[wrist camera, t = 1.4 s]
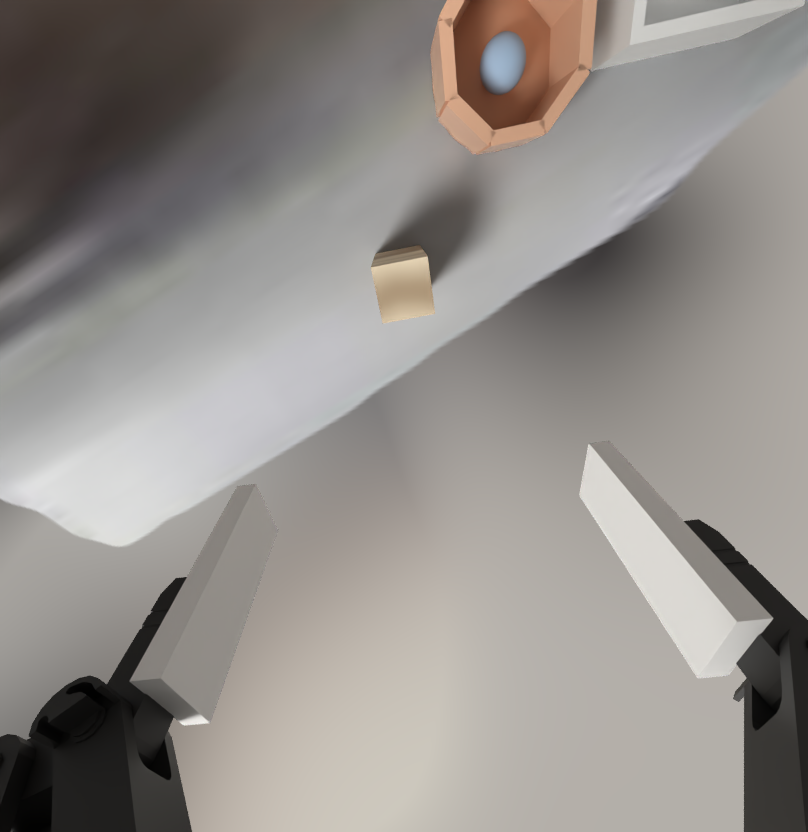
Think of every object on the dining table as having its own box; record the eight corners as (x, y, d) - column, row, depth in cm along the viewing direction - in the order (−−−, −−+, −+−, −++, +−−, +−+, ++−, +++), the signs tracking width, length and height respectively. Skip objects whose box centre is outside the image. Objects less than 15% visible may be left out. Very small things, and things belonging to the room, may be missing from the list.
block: (375, 253, 31) (371, 267, 24) (419, 244, 31) (427, 256, 24) (384, 298, 33) (382, 323, 26) (425, 291, 33) (435, 313, 26)
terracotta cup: (423, -1, 23) (431, -53, 18) (560, -34, 22) (604, -98, 18) (439, 163, 28) (449, 155, 23) (553, 139, 27) (587, 125, 22)
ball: (474, 46, 24) (484, 28, 21) (517, 36, 23) (533, 16, 21) (476, 104, 25) (486, 93, 23) (517, 94, 25) (532, 82, 22)
